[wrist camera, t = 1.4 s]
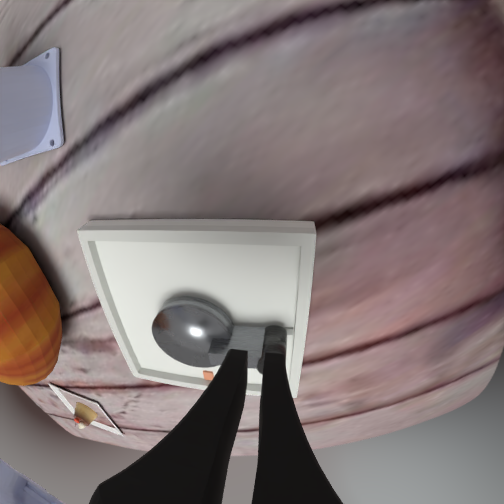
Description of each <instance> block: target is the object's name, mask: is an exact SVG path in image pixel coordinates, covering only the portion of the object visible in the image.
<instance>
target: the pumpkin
mask: <svg viewBox="0 0 504 504" xmlns="http://www.w3.org/2000/svg"><path fill="white" fill-rule="evenodd" d="M61 340H62V322H61V315H60V307H59V302H58V300H57V298H56V296H55V295H54V293H53V291H52V289H51V287H50V285H49V283H48V281H47V279H46V277H45V275H44V274H43V272H42V270H41V269H40V267H39V265H38V264H37V262H36V260H35V259H34V257H33V255H32V253H31V251H30V250H29V248H28V247H27V246H26V245H25V244H24V243H23V242H21V241H20V240H19V239H18V238H17V237H16V236H15V235H14V234H13V233H12V232H11V231H10V230H9V229H7V228H6V227H4V226H3V225H2V224H0V381H1V382H4V383H7V384H10V385H23V386H24V385H30V384H35V383H37V382H39V381H41V380H43V379H45V378H46V377H47V376H48V375H49V374H50V373H51V372H52V371H53V369H54V367H55V365H56V363H57V361H58V355H59V350H60V345H61Z"/></svg>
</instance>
